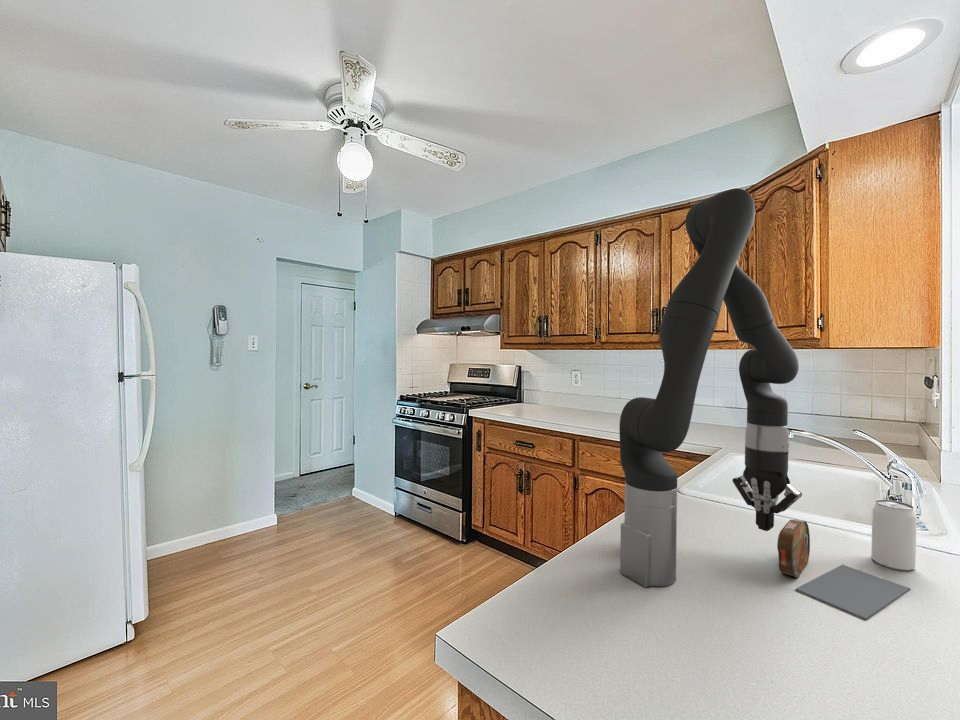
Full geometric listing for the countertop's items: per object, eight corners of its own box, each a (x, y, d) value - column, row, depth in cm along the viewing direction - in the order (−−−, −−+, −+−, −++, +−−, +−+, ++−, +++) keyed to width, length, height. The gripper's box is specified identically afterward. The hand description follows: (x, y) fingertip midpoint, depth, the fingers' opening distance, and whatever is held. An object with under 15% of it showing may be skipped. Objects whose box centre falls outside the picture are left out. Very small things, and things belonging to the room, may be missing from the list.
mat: (866, 620, 70) (866, 618, 70) (795, 590, 79) (795, 588, 79) (910, 589, 79) (910, 588, 79) (842, 565, 88) (842, 564, 88)
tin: (794, 584, 81) (795, 538, 81) (774, 578, 83) (774, 533, 83) (811, 558, 91) (812, 517, 91) (792, 553, 93) (793, 513, 93)
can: (906, 560, 90) (908, 501, 90) (922, 574, 84) (923, 511, 84) (866, 553, 93) (867, 496, 93) (878, 567, 87) (879, 506, 87)
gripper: (724, 441, 95) (722, 522, 96) (792, 454, 84) (790, 545, 84) (743, 438, 99) (742, 515, 99) (812, 450, 88) (810, 537, 88)
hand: (764, 529), depth 92 cm, fingers closed
